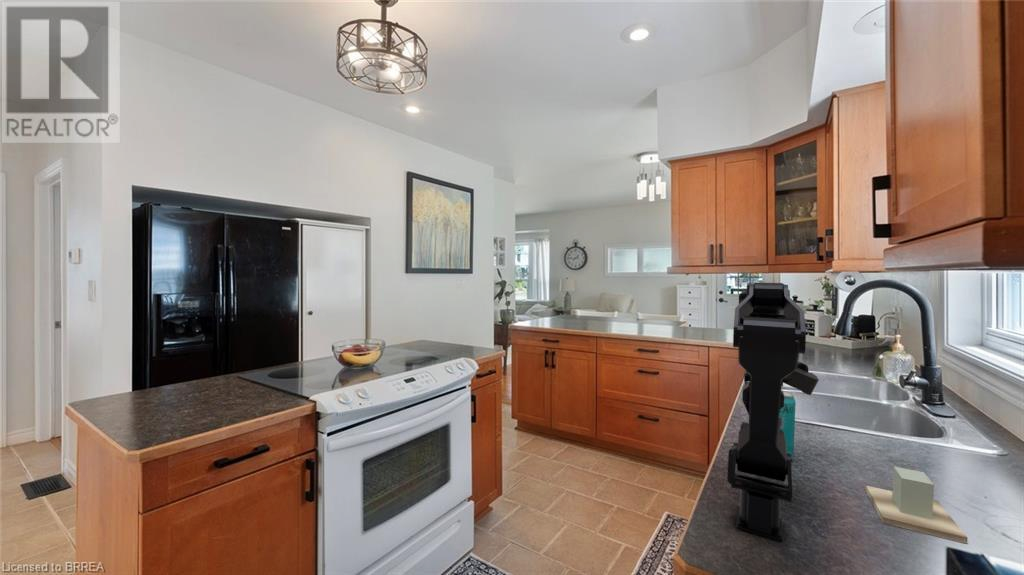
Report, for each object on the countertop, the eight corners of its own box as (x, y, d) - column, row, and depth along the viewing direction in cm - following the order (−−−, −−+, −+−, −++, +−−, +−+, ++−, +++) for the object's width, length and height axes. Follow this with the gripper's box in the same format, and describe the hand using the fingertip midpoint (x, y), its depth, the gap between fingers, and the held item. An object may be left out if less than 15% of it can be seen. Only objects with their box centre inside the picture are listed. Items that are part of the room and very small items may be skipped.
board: (967, 543, 64) (967, 537, 64) (882, 522, 69) (882, 517, 69) (937, 506, 74) (938, 501, 74) (865, 490, 79) (866, 485, 79)
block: (932, 519, 68) (934, 484, 68) (900, 512, 70) (901, 478, 70) (922, 505, 72) (923, 472, 72) (892, 498, 74) (893, 466, 74)
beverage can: (757, 454, 95) (759, 390, 94) (774, 450, 97) (776, 388, 96) (782, 465, 89) (785, 397, 89) (799, 460, 92) (801, 394, 91)
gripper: (823, 363, 66) (819, 457, 66) (809, 345, 82) (806, 422, 82) (743, 355, 71) (740, 442, 72) (745, 340, 87) (743, 412, 88)
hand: (760, 428), depth 78 cm, fingers open, 9 cm apart
